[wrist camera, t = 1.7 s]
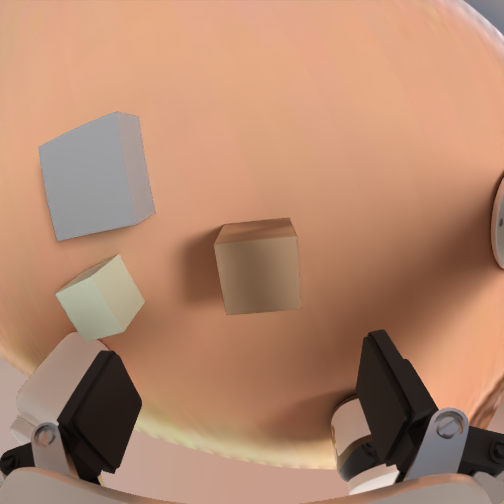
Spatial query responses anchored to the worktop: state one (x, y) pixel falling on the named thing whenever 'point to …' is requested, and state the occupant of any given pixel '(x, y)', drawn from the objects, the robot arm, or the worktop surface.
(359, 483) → the spread jar
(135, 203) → the base block
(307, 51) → the worktop surface
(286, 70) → the worktop surface
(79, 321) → the sage cube
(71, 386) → the pill bottle
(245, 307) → the walnut cube
